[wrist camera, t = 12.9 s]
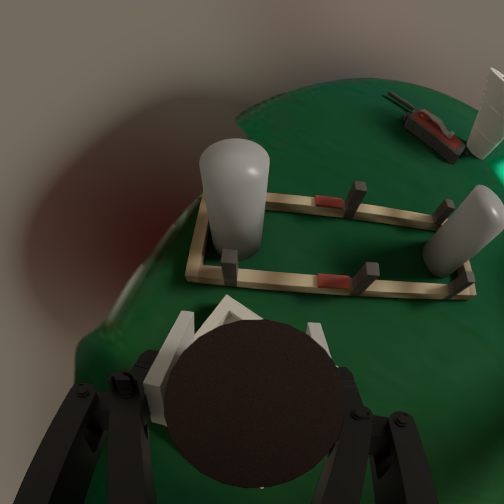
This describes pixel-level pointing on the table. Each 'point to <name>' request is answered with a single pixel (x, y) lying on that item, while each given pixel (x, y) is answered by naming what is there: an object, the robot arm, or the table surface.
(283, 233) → the table surface
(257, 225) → the cylinder
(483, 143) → the white tapered cylinder
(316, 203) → the frame
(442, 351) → the table surface
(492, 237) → the cylinder
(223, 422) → the deodorant
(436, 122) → the walkie-talkie
